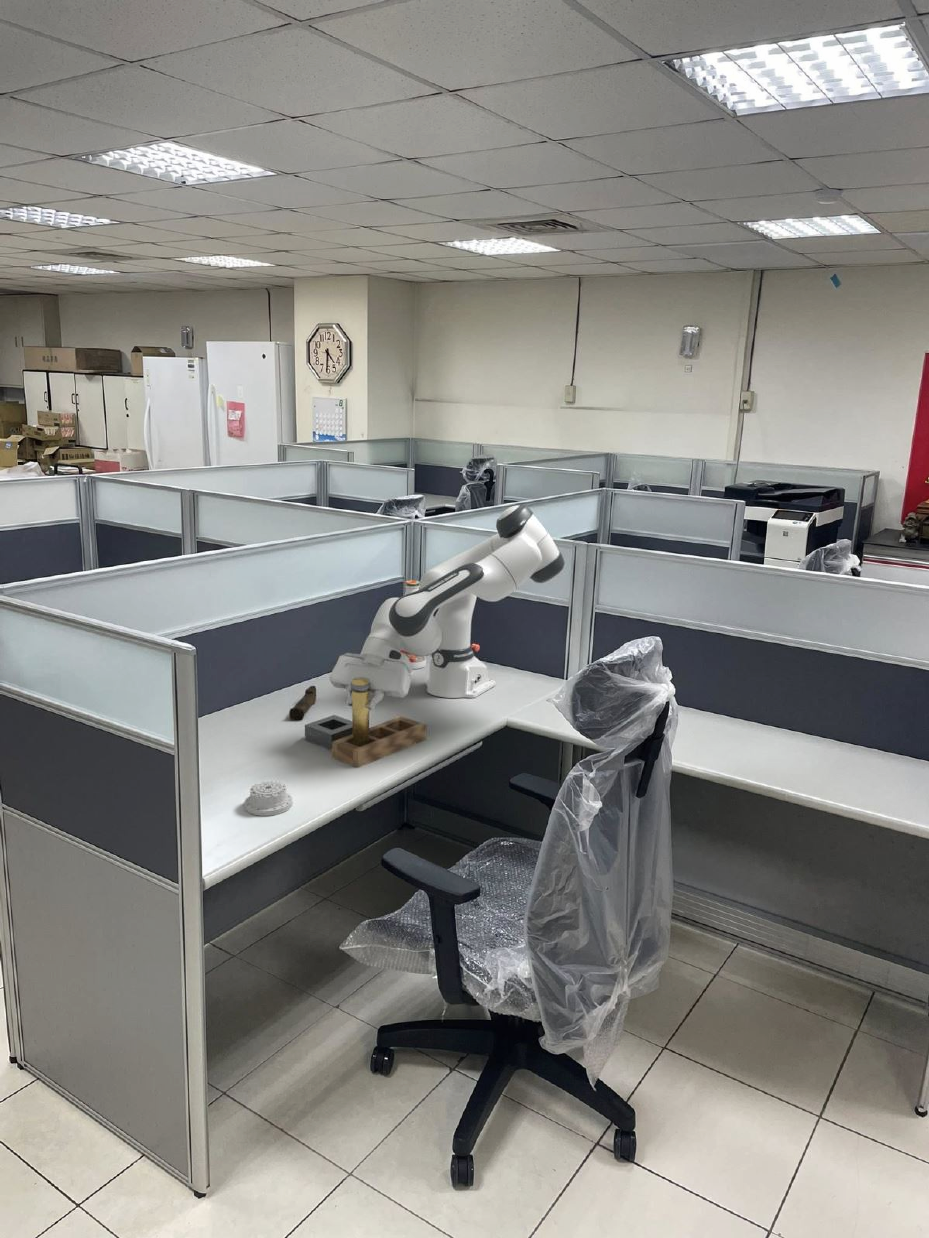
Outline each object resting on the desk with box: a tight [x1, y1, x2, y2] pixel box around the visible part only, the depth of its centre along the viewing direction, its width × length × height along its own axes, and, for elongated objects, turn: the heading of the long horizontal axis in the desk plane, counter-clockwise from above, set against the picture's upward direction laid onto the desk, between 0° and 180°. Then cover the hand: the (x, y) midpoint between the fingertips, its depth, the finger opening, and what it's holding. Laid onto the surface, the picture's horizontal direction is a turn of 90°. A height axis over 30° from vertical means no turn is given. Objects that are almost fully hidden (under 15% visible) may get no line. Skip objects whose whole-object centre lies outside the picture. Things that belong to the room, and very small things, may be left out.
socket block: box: [304, 714, 353, 750], centre depth 226 cm, size 10×10×4 cm
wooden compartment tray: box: [331, 716, 427, 768], centre depth 221 cm, size 24×9×4 cm, turn 141°
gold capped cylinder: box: [351, 678, 370, 742], centre depth 213 cm, size 5×5×15 cm
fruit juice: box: [400, 579, 427, 670], centre depth 287 cm, size 9×9×28 cm
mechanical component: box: [243, 780, 293, 817], centre depth 189 cm, size 10×4×10 cm
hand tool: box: [288, 685, 317, 722], centre depth 248 cm, size 19×4×5 cm, turn 172°
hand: (359, 706), depth 213 cm, fingers closed on gold capped cylinder, 4 cm apart
